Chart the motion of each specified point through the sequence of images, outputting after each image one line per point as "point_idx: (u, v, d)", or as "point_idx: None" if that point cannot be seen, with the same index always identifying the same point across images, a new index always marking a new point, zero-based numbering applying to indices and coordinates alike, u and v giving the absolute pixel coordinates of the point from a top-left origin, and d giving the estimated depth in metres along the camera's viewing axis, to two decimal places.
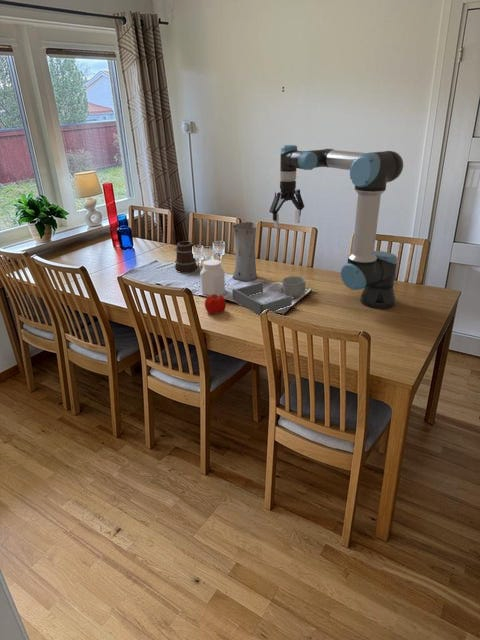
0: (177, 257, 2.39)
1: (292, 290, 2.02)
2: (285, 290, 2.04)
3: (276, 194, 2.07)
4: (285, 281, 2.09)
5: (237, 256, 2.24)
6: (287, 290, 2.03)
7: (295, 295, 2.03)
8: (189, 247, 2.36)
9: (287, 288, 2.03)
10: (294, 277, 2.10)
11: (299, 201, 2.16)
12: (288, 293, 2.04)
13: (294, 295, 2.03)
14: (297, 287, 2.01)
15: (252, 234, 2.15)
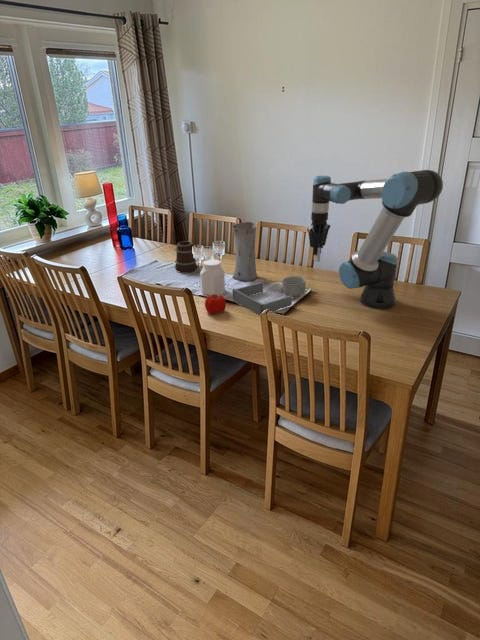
0: (177, 257, 2.39)
1: (292, 290, 2.02)
2: (285, 290, 2.04)
3: (309, 231, 2.01)
4: (285, 281, 2.09)
5: (237, 256, 2.24)
6: (287, 290, 2.03)
7: (295, 295, 2.03)
8: (189, 247, 2.36)
9: (287, 288, 2.03)
10: (294, 277, 2.10)
11: (323, 237, 2.08)
12: (288, 293, 2.04)
13: (294, 295, 2.03)
14: (297, 287, 2.01)
15: (252, 234, 2.15)
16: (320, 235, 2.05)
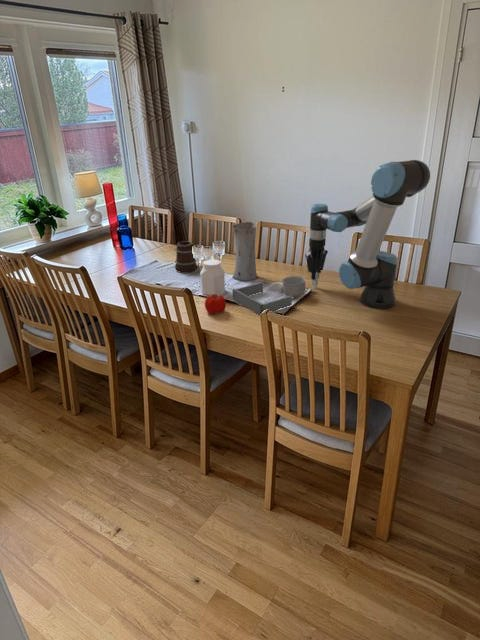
0: (177, 257, 2.39)
1: (292, 290, 2.02)
2: (285, 290, 2.04)
3: (307, 257, 2.06)
4: (285, 281, 2.09)
5: (237, 256, 2.24)
6: (287, 290, 2.03)
7: (295, 295, 2.03)
8: (189, 247, 2.36)
9: (287, 288, 2.03)
10: (294, 277, 2.10)
11: (321, 262, 2.13)
12: (288, 293, 2.04)
13: (294, 295, 2.03)
14: (297, 287, 2.01)
15: (252, 234, 2.15)
16: (318, 260, 2.10)
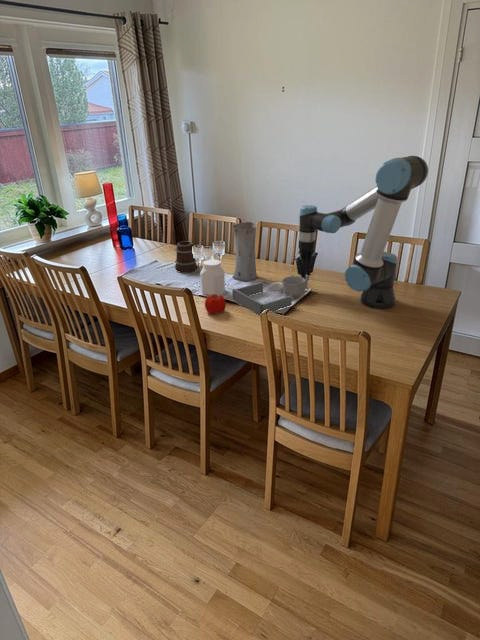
0: (177, 257, 2.39)
1: (292, 290, 2.02)
2: (285, 290, 2.04)
3: (296, 259, 2.03)
4: (285, 281, 2.09)
5: (237, 256, 2.24)
6: (287, 290, 2.03)
7: (295, 295, 2.03)
8: (189, 247, 2.36)
9: (287, 288, 2.03)
10: (294, 277, 2.09)
11: (311, 264, 2.09)
12: (288, 293, 2.04)
13: (294, 295, 2.03)
14: (297, 287, 2.01)
15: (252, 234, 2.15)
16: (307, 263, 2.07)
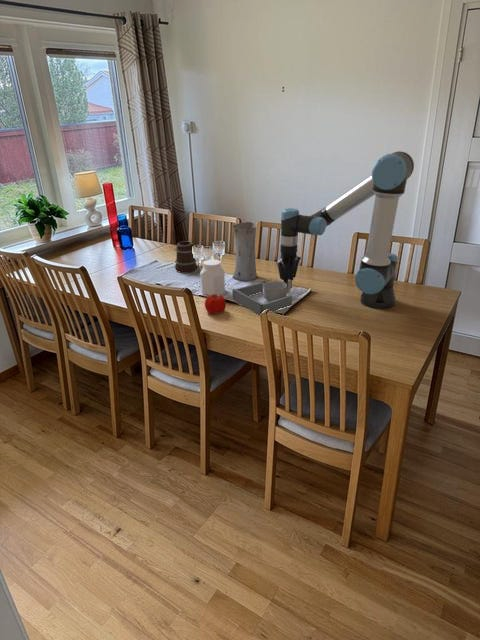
0: (177, 257, 2.39)
1: (272, 295, 1.97)
2: (265, 295, 1.99)
3: (278, 264, 1.98)
4: (267, 286, 2.04)
5: (237, 256, 2.24)
6: (267, 295, 1.98)
7: None
8: (189, 247, 2.36)
9: (267, 293, 1.98)
10: (276, 282, 2.04)
11: (293, 269, 2.04)
12: (268, 298, 1.99)
13: None
14: (277, 292, 1.96)
15: (252, 234, 2.15)
16: (290, 267, 2.02)
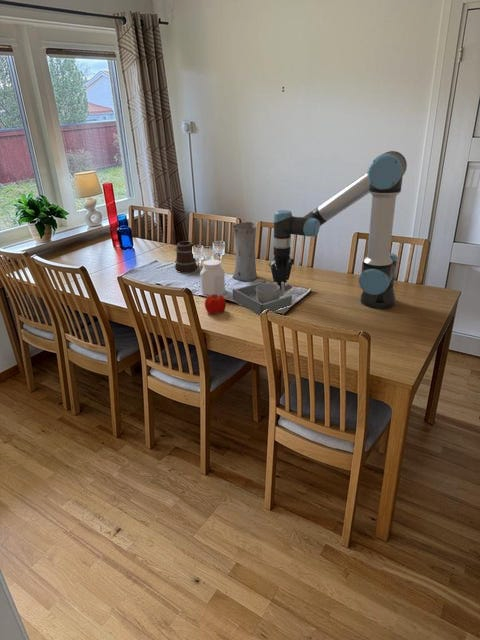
0: (177, 257, 2.39)
1: (264, 297, 1.95)
2: (258, 297, 1.97)
3: (271, 266, 1.96)
4: (260, 288, 2.02)
5: (237, 256, 2.24)
6: (260, 297, 1.96)
7: None
8: (189, 247, 2.36)
9: (260, 295, 1.96)
10: (269, 284, 2.02)
11: (287, 271, 2.02)
12: (261, 300, 1.96)
13: None
14: (269, 295, 1.94)
15: (252, 234, 2.15)
16: (283, 270, 2.00)
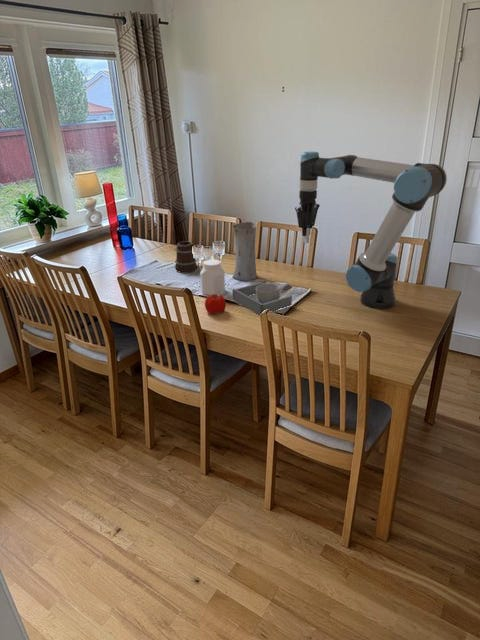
0: (177, 257, 2.39)
1: (264, 298, 1.95)
2: (258, 297, 1.97)
3: (297, 210, 1.92)
4: (260, 288, 2.02)
5: (237, 256, 2.24)
6: (260, 297, 1.96)
7: None
8: (189, 247, 2.36)
9: (259, 295, 1.96)
10: (269, 284, 2.02)
11: (312, 217, 1.99)
12: (261, 300, 1.96)
13: None
14: (269, 295, 1.94)
15: (252, 234, 2.15)
16: (309, 215, 1.96)
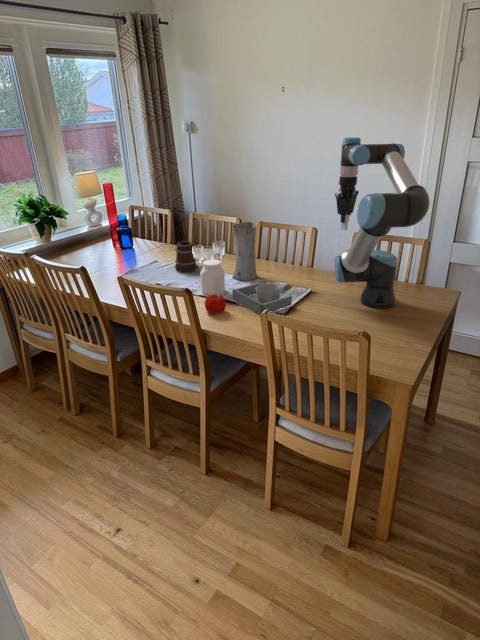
0: (177, 257, 2.39)
1: (264, 298, 1.95)
2: (258, 297, 1.97)
3: (337, 196, 1.92)
4: (260, 288, 2.02)
5: (237, 256, 2.24)
6: (260, 297, 1.96)
7: None
8: (189, 247, 2.36)
9: (259, 295, 1.96)
10: (269, 284, 2.02)
11: (351, 204, 1.99)
12: (261, 300, 1.96)
13: None
14: (269, 295, 1.94)
15: (252, 234, 2.15)
16: (348, 201, 1.96)
